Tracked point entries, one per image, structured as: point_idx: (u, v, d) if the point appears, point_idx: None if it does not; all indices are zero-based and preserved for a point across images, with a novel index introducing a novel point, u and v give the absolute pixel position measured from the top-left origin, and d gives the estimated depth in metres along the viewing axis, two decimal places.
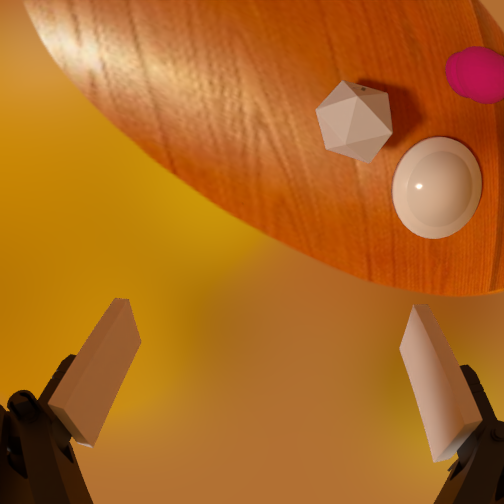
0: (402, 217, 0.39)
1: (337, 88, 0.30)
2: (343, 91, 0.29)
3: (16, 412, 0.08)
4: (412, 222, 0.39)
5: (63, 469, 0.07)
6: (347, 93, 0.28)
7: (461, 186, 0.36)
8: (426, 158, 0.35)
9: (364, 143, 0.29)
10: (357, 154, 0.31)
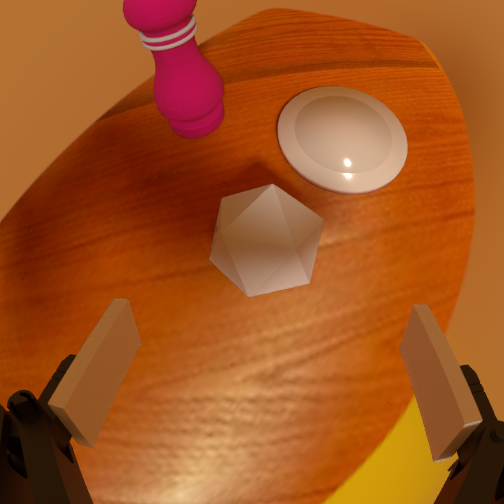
0: (390, 176, 0.29)
1: (218, 266, 0.25)
2: (220, 256, 0.24)
3: (16, 412, 0.08)
4: (393, 163, 0.30)
5: (63, 469, 0.07)
6: (221, 249, 0.23)
7: (333, 108, 0.32)
8: (308, 151, 0.31)
9: (291, 221, 0.22)
10: (311, 233, 0.23)
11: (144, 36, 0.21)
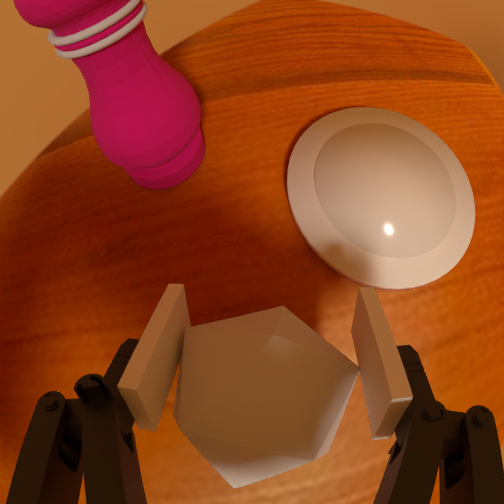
0: (453, 260, 0.18)
1: None
2: None
3: (82, 395, 0.09)
4: (457, 237, 0.19)
5: (124, 460, 0.08)
6: None
7: (372, 143, 0.21)
8: (335, 220, 0.19)
9: (308, 406, 0.11)
10: (339, 410, 0.12)
11: (53, 35, 0.10)
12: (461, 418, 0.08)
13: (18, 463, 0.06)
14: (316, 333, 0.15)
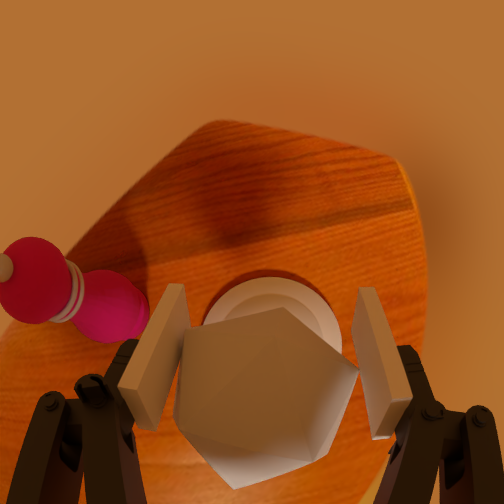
0: None
1: None
2: None
3: (82, 395, 0.09)
4: None
5: (124, 460, 0.08)
6: None
7: None
8: None
9: (307, 408, 0.11)
10: (339, 412, 0.12)
11: None
12: (461, 418, 0.08)
13: (18, 463, 0.06)
14: (316, 334, 0.15)
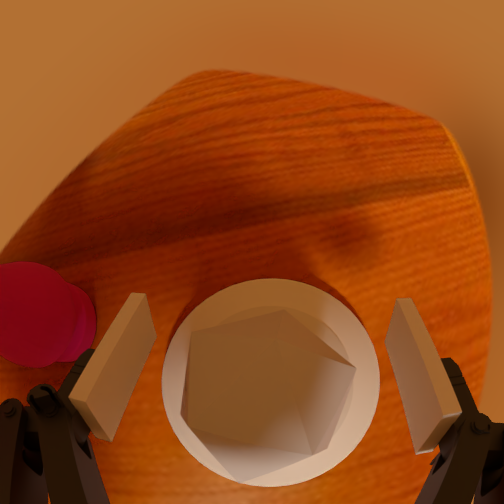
0: (330, 463, 0.17)
1: None
2: None
3: (35, 406, 0.08)
4: (342, 441, 0.17)
5: (81, 465, 0.07)
6: None
7: None
8: None
9: (307, 405, 0.12)
10: (337, 408, 0.13)
11: None
12: None
13: None
14: (315, 335, 0.16)
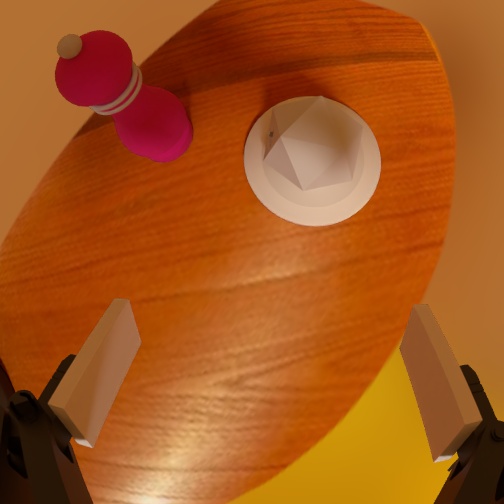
0: (354, 209, 0.31)
1: (273, 165, 0.28)
2: (276, 156, 0.26)
3: (16, 412, 0.08)
4: (360, 193, 0.31)
5: (63, 469, 0.07)
6: (278, 150, 0.25)
7: None
8: (272, 182, 0.32)
9: (339, 127, 0.24)
10: (354, 138, 0.25)
11: None
12: None
13: None
14: None
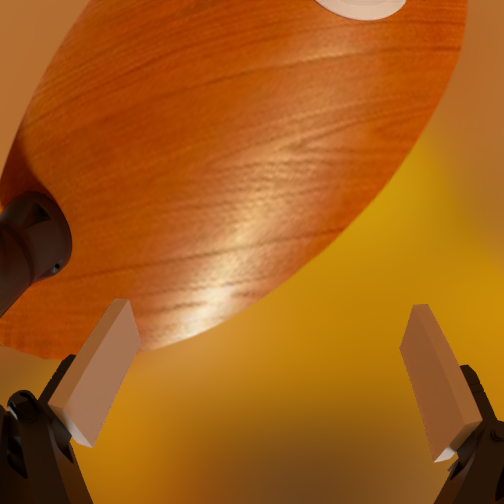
0: (391, 11, 0.27)
1: None
2: None
3: (16, 412, 0.08)
4: (395, 1, 0.27)
5: (63, 469, 0.07)
6: None
7: None
8: None
9: None
10: None
11: None
12: None
13: None
14: None
